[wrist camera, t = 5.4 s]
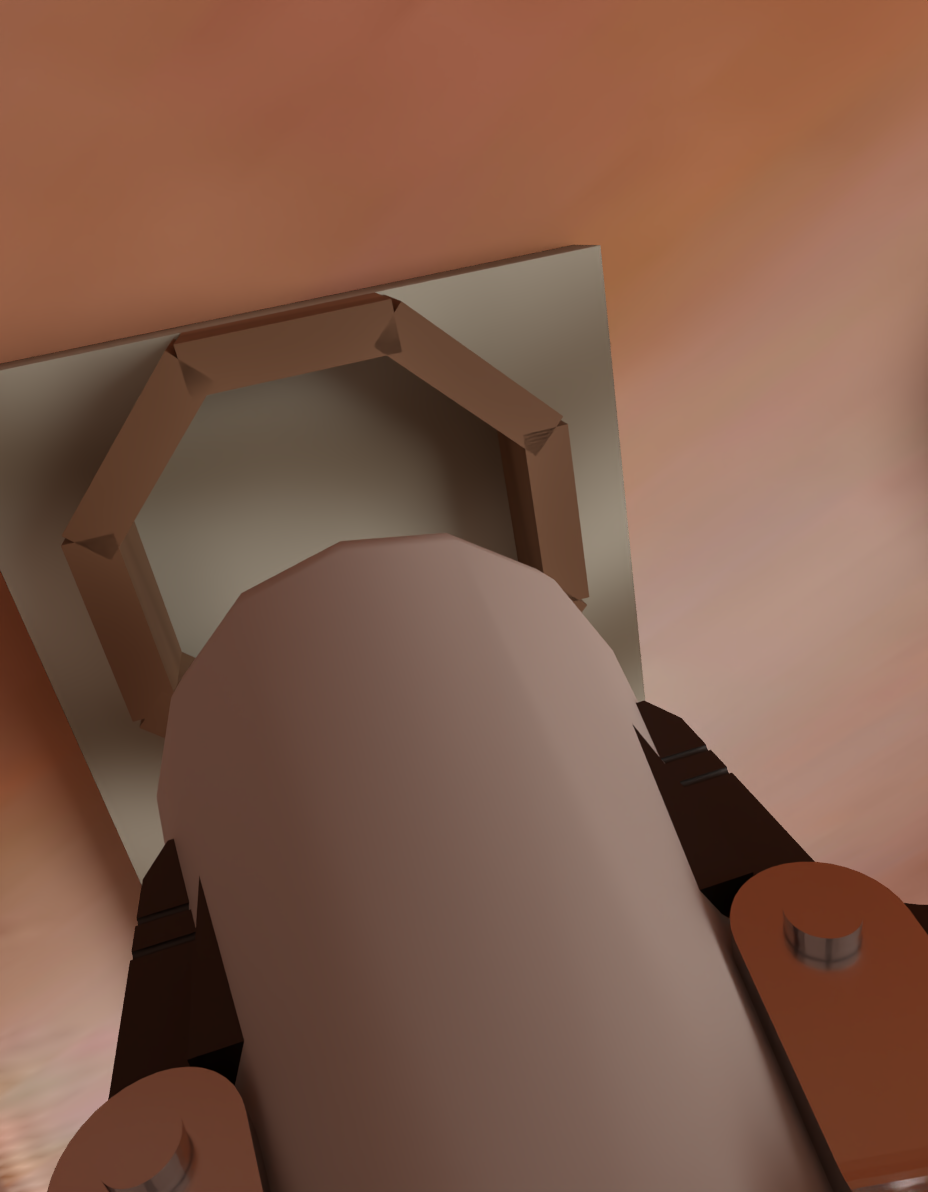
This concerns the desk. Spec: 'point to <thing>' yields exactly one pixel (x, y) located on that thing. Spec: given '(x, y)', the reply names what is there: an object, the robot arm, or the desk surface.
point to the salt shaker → (459, 894)
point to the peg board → (300, 477)
